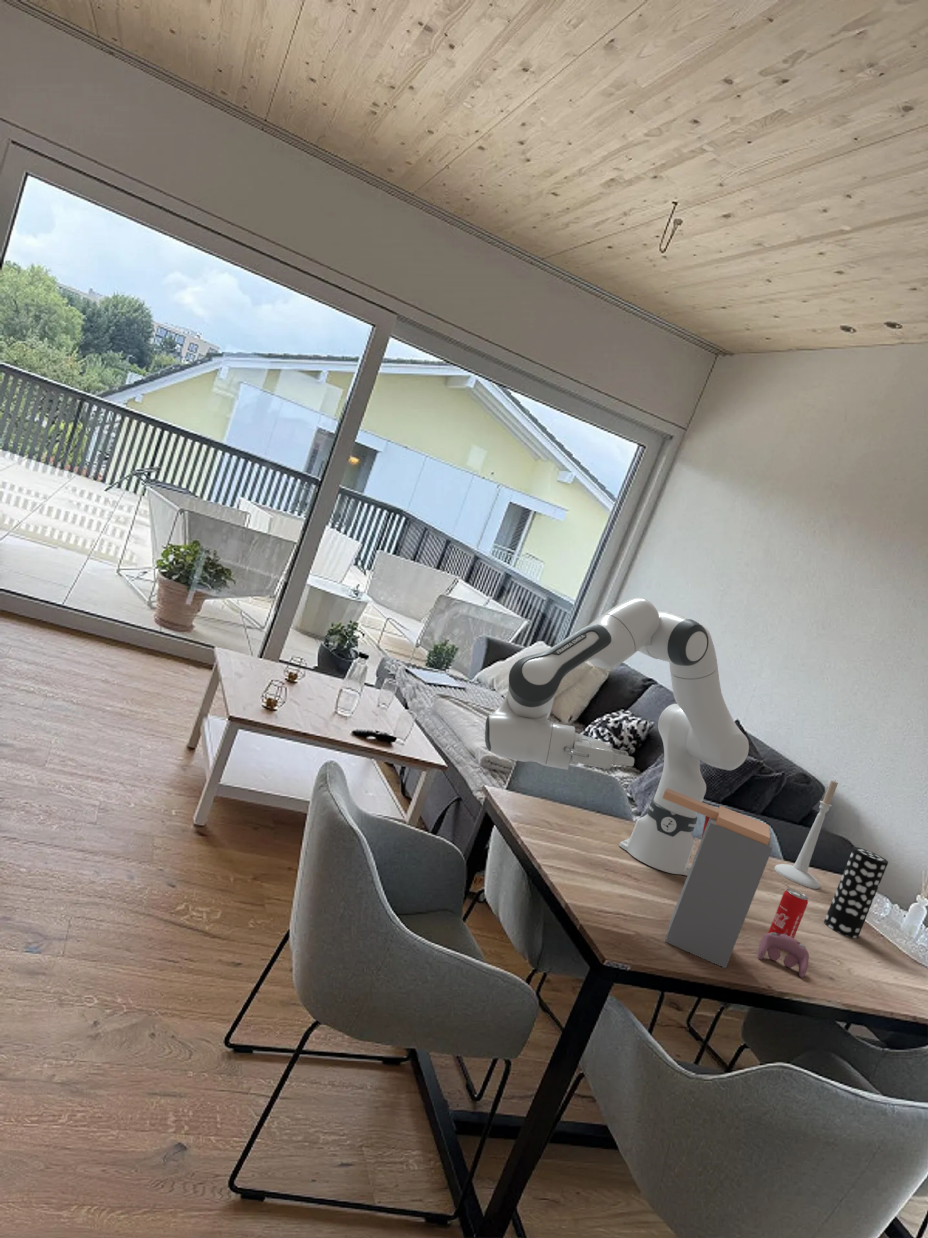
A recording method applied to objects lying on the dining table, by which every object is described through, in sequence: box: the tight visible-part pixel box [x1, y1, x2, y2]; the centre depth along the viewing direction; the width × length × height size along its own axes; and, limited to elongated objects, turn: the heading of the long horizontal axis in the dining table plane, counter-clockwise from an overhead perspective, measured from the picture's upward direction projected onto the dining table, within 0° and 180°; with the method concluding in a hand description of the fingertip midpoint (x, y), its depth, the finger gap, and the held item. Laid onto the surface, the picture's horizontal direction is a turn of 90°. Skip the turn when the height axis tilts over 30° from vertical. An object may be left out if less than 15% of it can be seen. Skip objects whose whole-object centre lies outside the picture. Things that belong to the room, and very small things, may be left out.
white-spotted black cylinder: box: [823, 846, 889, 939], centre depth 233 cm, size 8×8×20 cm
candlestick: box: [774, 780, 839, 890], centre depth 269 cm, size 13×13×30 cm
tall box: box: [665, 818, 774, 969], centre depth 188 cm, size 13×12×25 cm
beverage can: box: [767, 887, 809, 939], centre depth 206 cm, size 5×5×12 cm
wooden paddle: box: [663, 788, 771, 845], centre depth 188 cm, size 12×21×2 cm, turn 72°
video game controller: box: [757, 932, 810, 979], centre depth 194 cm, size 10×5×7 cm, turn 71°
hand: (630, 759), depth 193 cm, fingers open, 8 cm apart
